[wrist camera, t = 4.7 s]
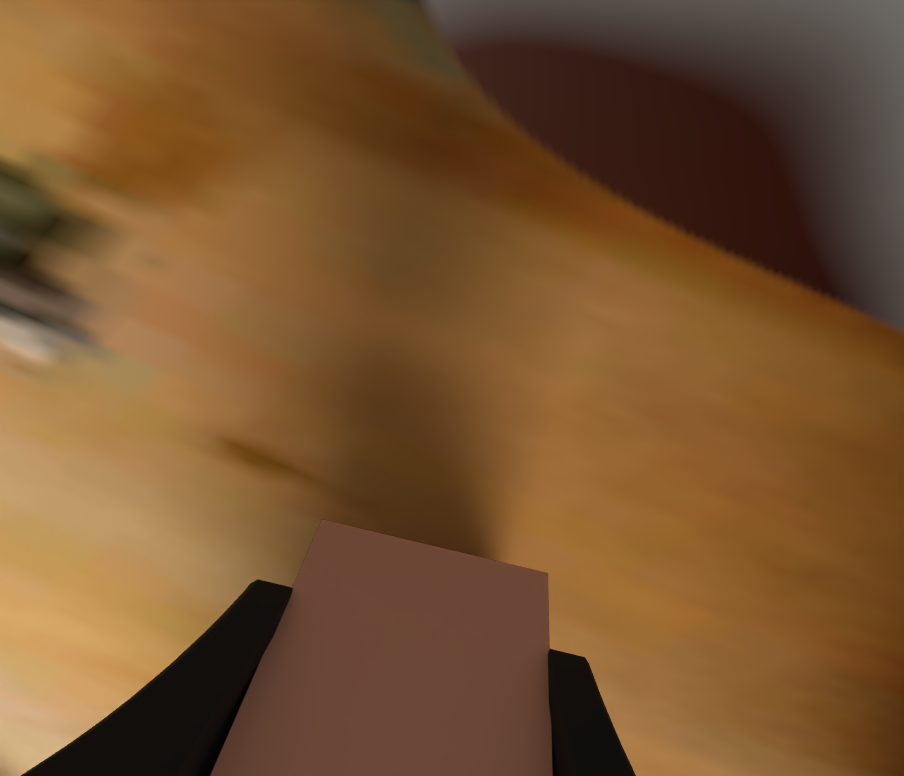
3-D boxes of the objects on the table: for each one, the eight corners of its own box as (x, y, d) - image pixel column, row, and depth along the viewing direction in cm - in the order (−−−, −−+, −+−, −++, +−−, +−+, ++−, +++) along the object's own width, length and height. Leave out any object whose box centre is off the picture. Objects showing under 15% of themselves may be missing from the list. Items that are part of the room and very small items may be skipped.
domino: (547, 573, 14) (559, 1115, 7) (526, 634, 15) (518, 1184, 8) (322, 519, 14) (108, 1009, 7) (311, 583, 15) (107, 1088, 8)
